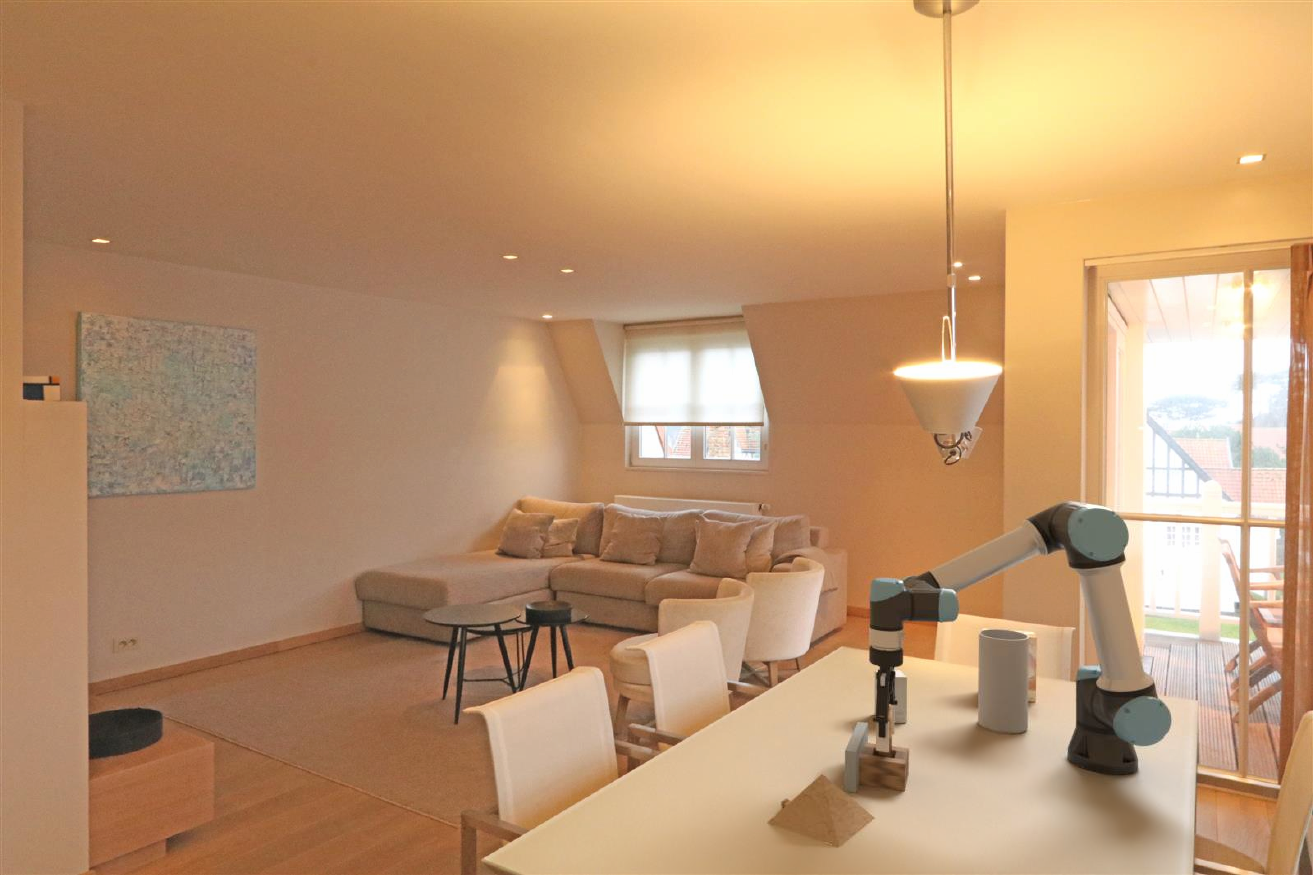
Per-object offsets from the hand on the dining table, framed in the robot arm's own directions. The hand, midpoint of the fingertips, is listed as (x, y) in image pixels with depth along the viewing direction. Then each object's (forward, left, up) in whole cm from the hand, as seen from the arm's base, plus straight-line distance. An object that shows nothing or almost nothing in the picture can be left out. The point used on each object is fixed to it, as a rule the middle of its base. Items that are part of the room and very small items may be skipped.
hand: (885, 741), depth 195 cm
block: (0, 0, -9) cm, 9 cm away
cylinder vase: (-26, -48, -9) cm, 55 cm away
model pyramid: (+10, +26, -9) cm, 29 cm away
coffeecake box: (-28, -77, -9) cm, 82 cm away
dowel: (0, 0, -6) cm, 6 cm away
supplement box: (+3, -43, -9) cm, 44 cm away
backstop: (+6, 0, -9) cm, 11 cm away
